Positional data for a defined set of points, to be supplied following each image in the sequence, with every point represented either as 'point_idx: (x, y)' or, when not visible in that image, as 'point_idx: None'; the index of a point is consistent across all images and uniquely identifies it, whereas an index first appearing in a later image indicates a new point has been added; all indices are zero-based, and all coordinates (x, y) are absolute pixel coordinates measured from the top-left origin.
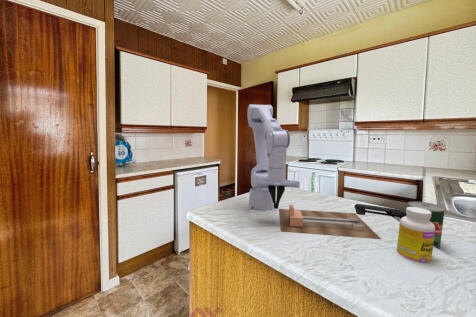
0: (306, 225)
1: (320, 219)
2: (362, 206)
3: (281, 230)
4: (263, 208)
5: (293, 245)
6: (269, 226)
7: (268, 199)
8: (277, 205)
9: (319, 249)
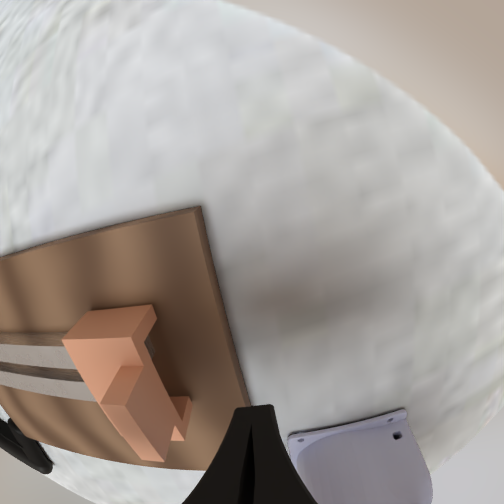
0: None
1: (39, 375)
2: (30, 461)
3: (191, 227)
4: (343, 448)
5: (118, 125)
6: (291, 314)
7: (324, 495)
8: (236, 429)
9: (26, 150)
